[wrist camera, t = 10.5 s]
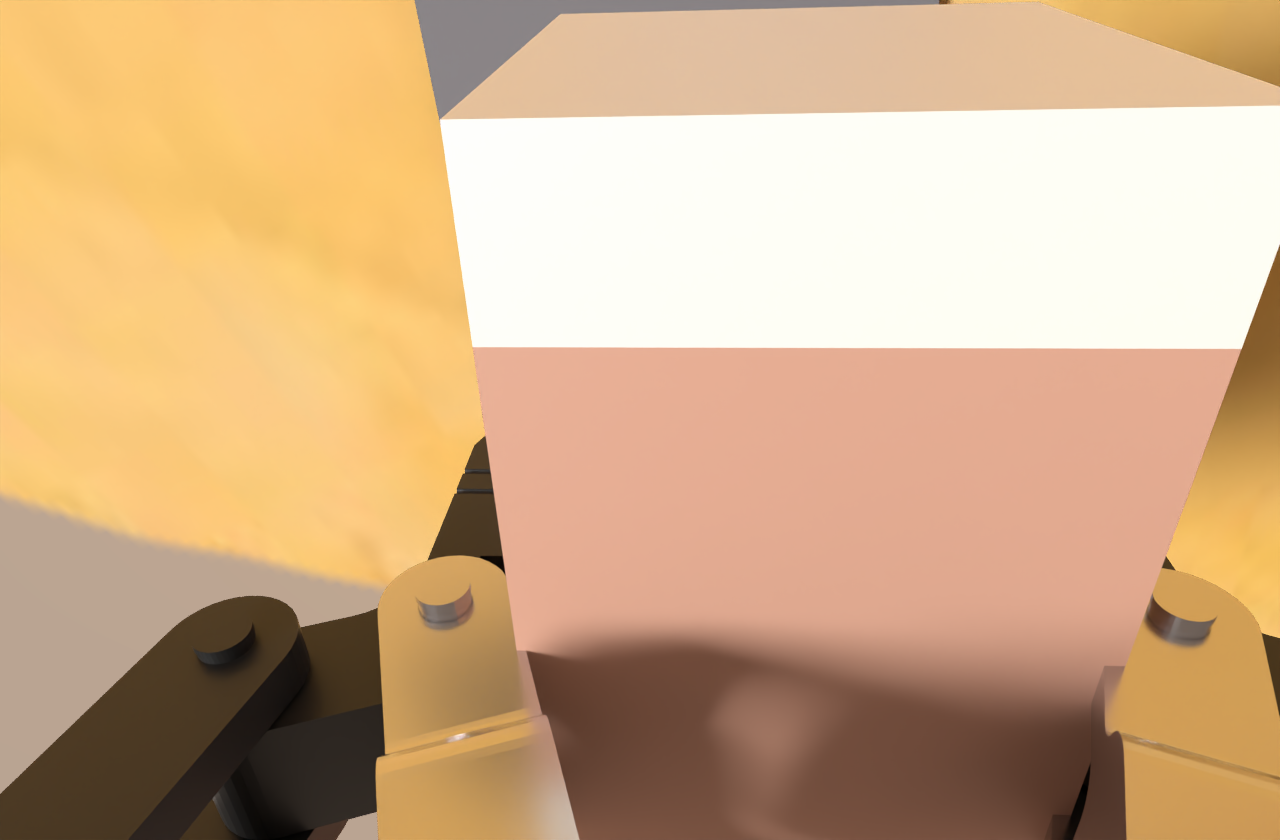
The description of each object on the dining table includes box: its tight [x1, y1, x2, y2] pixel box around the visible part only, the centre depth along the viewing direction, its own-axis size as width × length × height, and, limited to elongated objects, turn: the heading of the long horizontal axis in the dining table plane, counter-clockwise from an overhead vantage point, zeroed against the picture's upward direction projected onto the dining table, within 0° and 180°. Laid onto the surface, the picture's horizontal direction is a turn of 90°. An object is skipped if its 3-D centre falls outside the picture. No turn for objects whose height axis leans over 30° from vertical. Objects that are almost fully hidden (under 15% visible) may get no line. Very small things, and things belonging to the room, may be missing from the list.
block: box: [440, 2, 1280, 840], centre depth 10 cm, size 5×5×12 cm
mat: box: [415, 0, 939, 125], centre depth 26 cm, size 14×18×1 cm
